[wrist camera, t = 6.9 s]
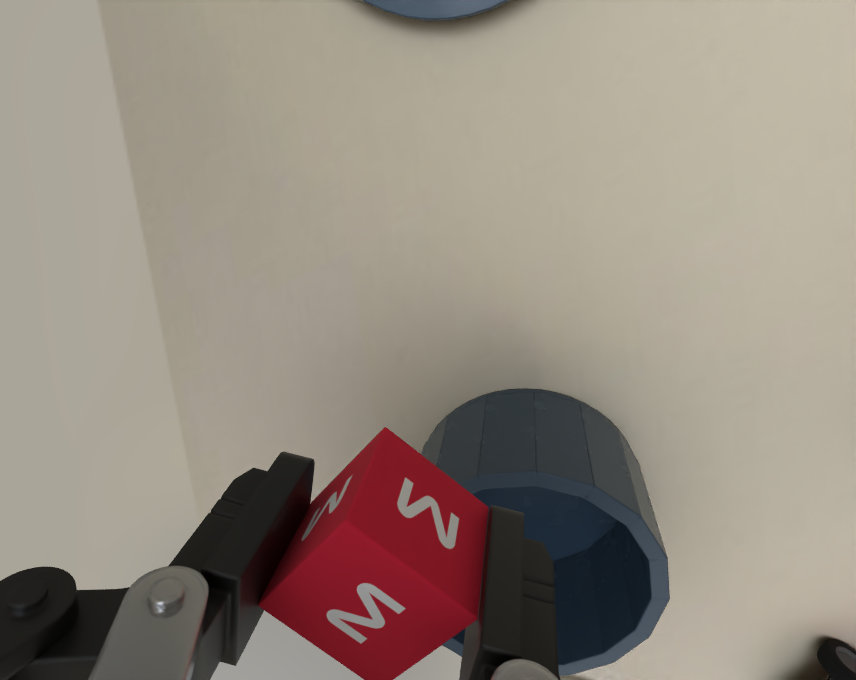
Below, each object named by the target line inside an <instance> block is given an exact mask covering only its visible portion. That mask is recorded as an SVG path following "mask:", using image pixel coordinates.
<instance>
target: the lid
mask: <svg viewBox="0 0 856 680" xmlns="http://www.w3.org/2000/svg"><path fill="white" fill-rule="evenodd" d="M363 1H364V2H366V3H368V4H370V5H372V6H374V7H377V8H379V9H381V10H383V11H385V12H388V13H391V14H394V15H398V16H401V17H405V18H409V19H417V20H425V21H449V20H455V19H461V18H467V17H472V16H475V15H478V14H481V13H484V12H487V11H490V10H492V9H494V8H496V7H499V6H501V5H503V4H505V3H507V2H509V1H511V0H363Z"/></svg>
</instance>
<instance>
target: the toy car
mask: <svg viewBox="0 0 856 680" xmlns="http://www.w3.org/2000/svg"><path fill="white" fill-rule="evenodd" d="M817 657H818V660H819V662H820V664H821V665H822V667H823V668H824V670H825V671H826V672H827V673H828V676H827V679H826V680H856V651H855V650H854V649H853V648H851V647H850V646H848V645H847V644H845V643H843V642H840V641H838V640H833V639H830V640H828V641H826V642H824V643H823V644H822V645H821V646H820V648H819V649H818V651H817ZM830 678H831V679H830ZM823 679H824V677H823V678H822V679H821V680H823Z"/></svg>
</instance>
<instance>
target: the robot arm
mask: <svg viewBox="0 0 856 680" xmlns="http://www.w3.org/2000/svg"><path fill="white" fill-rule="evenodd" d="M313 475H314V459H311V458H307V457H303V456H299V455H295V454H291V453H287V452H281V453H280V454H279V456H278V457H277V458H276V460H275V461H274V463H273V464H272V466H271V467H270V469H269V470H268V471H264V470H260V469H256V468H252V469H251V470H249V471H247V472H246V473H244V474H243V475H241V476H239V477H238V478H236V479H234V480H233V482H232V483H231V484H230V486H229V487H228V488H227V490H226V491H225V492H224V494H223V495H222V497H221V499H219V500H218V502H217V503H216V504H215V505H214V507H213V508H212V509H211V513H208V515H207V516H206V517H205V519H204V520H203V521H202V523H201V524H200V525H199V527H198V528H197V529H196V531H195V532H194V533H193V535H192V536H191V537H190V539H189V540H188V541H187V542H186V544H185V545H184V546H183V548H182V549H181V550H180V552H179V553H178V554H177V556H176V557H175V558H174V560H173V561H172V562H171V564H170V565H169V566H167V567H163V568H159V569H155V570H153V571H151V572H149V573H147V574H145V575H143V576H142V577H140V578H139V579H138V580H136V582H134V583H133V584H132V585H131V587H128V588H123V589H108V590H107V589H106V590H77V589H76V583H75V580H74V579H73V577H72V576H71V575H70V574H69V573H68V572H66V571H64V570H62V569H59V568H55V567H36V568H31V569H27V570H23V571H20V572H17V573H15V574H13V575H11V576H9V577H7V578H5V579H3V580H2V581H0V680H210V679H211V677H212V675H213V673H214V671H215V669H216V668H217V666H218V664H219V662H224V663H228V664H231V665H236V664H237V662H238V660H239V658H240V656H241V654H242V652H243V650H244V649H245V647H246V645H247V643H248V641H249V639H250V637H251V635H252V633H253V631H254V629H255V627H256V625H257V623H258V621H259V619H260V617H261V615H262V613H263V611H264V610H263V609H262V608H261V607H259V606H258V603H259V601H260V599H261V597H262V596H263V594H264V592H265V590H266V588H267V586H268V584H269V582H270V580H271V578H272V577H273V575H274V573H275V571H276V569H277V567H278V565H279V563H280V561H281V560H282V558H283V556H284V554H285V552H286V550H287V548H288V546H289V544H290V542H291V541H292V539H293V537H294V535H295V533H296V531H297V529H298V527H299V525H300V524H301V522H302V520H303V518H304V516H305V514H306V512H307V510H308V508H309V506H310V501H311V492H312V484H313ZM459 680H560V677H559V669H558V648H557V627H556V606H555V588H554V565H553V561H552V559H551V557H550V555H549V553H548V551H547V549H546V547H545V545H544V543H543V542H539V541H535V540H532V539H528V538H524V513H522V512H518V511H515V510H511V509H507V508H503V507H499V506H495V505H491V508H490V510H489V514H488V519H487V530H486V540H485V550H484V560H483V570H482V580H481V591H480V601H479V611H478V619H477V620H476V621H475V622H473V623H472V624H470V625H469V626H468V627H466V629H465V637H464V645H463V654H462V662H461V670H460V679H459Z"/></svg>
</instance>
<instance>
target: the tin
mask: <svg viewBox="0 0 856 680" xmlns="http://www.w3.org/2000/svg"><path fill="white" fill-rule="evenodd" d="M422 456H424V457H425V458H426V459H427V460H429V461H430V462H431V463H433V464H434V465H435V466H436V467H438V468H439V469H440V470H442V471H443V472H444V473H445V474H447V475H448V476H449V477H451V478H452V479H453V480H454V481H456V482H457V483H458V484H459V485H461V486H462V487H463V488H465V489H466V490H467V491H468V492H470V493H471V494H472V495H474V496H475V497H476V498H477V499H479V500H480V501H481V502H483V503H484V504H485V505H486V506H488V508H489V509H488V514H489V510H490V508H491V505H495V506H499V507H503V508H507V509H511V510H515V511H518V512H522V513H524V538H528V539H532V540H535V541H539V542H543V543H544V545H545V547H546V549H547V551H548V553H549V555H550V557H551V559H552V561H553V565H554V588H555V606H556V627H557V648H558V669H559V675H560V676H566V675H572V674H576V673H579V672H583V671H586V670H590V669H593V668H597V667H600V666H604V665H607V664H611V663H613V662H615V661H617V660H618V659H619V658H621V657H622V656H624V655H625V654H626V653H628V652H629V651H631V650H632V649H633V648H635V647H636V646H638V645H639V644H640V643H642V642H643V641H644V640H646V639H647V638H649V636H650V635H651V633H652V631H653V630H654V628H655V626H656V624H657V622H658V620H659V618H660V616H661V615H662V613H663V611H664V609H665V607H666V605H667V603H668V601H669V599H670V595H669V576H668V558H667V555H666V551H665V548H664V545H663V541H662V538H661V535H660V532H659V528H658V525H657V522H656V519H655V515H654V512H653V509H652V505H651V502H650V499H649V496H648V492H647V489H646V486H645V482H644V479H643V476H642V473H641V469H640V466H639V463H638V461H637V459H636V458H635V456H634V455H633V452H632V450H631V448H630V446H629V444H628V442H627V440H626V439H625V438H624V436H623V435H622V434H621V432H620V431H619V429H618V428H617V427H616V426H615V425H614V424H613V423H612V422H611V421H610V420H609V419H607V418H606V417H605V416H604V415H602V414H601V413H600V412H599V411H597V410H595V409H594V408H592V407H590V406H589V405H587V404H585V403H583V402H581V401H579V400H576V399H574V398H572V397H569V396H566V395H563V394H559V393H556V392H551V391H545V390H538V389H509V390H503V391H497V392H493V393H489V394H486V395H482V396H480V397H477V398H475V399H473V400H470V401H468V402H466V403H465V404H463V405H461V406H460V407H458V408H456V409H455V410H454V411H452V412H451V413H450V414H449V415H447V416H446V417H445V418H444V419H443V420H442V421H441V422H440V423H439V424H438V425H437V427H436V428H435V430H434V431H433V432H432V434H431V435H430V437H429V439H428V441H427V442H426V443H425V446H424V447H423V451H422ZM465 629H466V628H465ZM465 629H463V630H462V631H461V632H459V633H458V634H456V635H455V636H454V637H452V638H451V639H449V640H448V641H447V642H445V643H444V644H442V645H443V646H445V647H446V648H448V649H450V650H451V651H453V652H455V653H457V654H458V655H460V656H461V657H462V654H463V645H464V637H465Z"/></svg>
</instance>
